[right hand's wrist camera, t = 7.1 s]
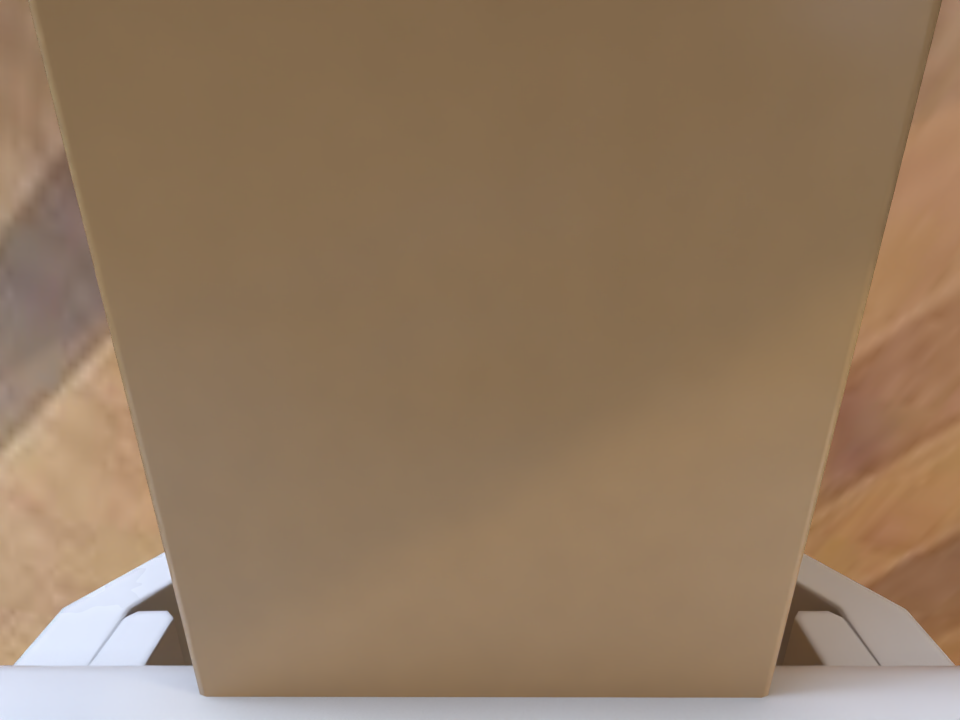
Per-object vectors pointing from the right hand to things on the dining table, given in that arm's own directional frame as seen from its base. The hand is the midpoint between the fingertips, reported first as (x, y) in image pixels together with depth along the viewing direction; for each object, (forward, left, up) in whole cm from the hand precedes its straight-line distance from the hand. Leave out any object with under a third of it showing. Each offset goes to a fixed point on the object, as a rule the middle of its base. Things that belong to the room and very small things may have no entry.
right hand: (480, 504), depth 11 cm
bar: (-10, +3, -3) cm, 11 cm away
